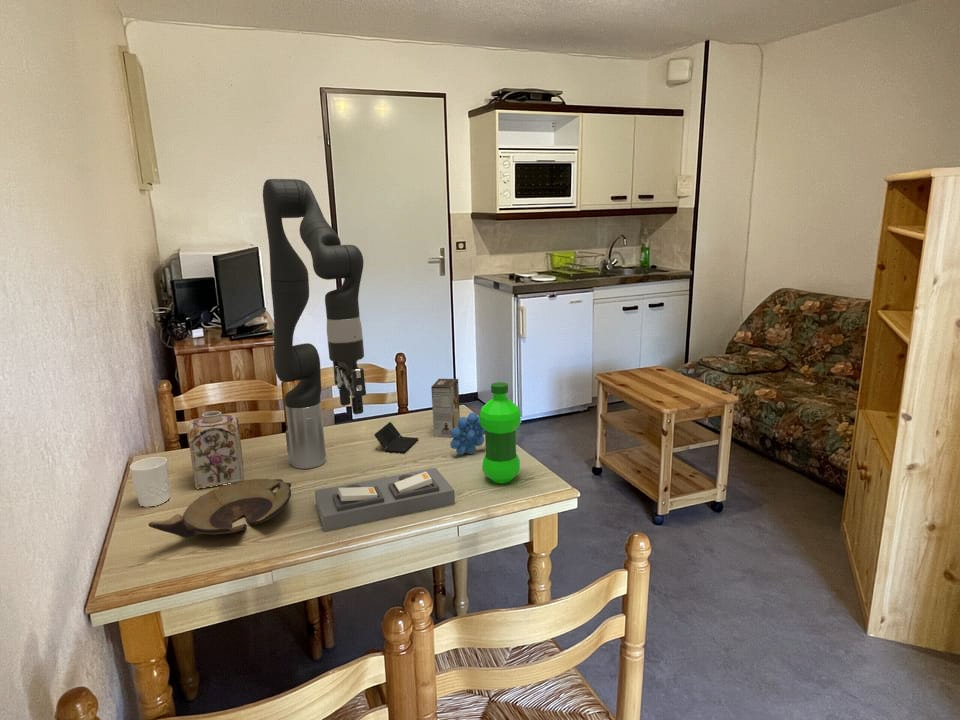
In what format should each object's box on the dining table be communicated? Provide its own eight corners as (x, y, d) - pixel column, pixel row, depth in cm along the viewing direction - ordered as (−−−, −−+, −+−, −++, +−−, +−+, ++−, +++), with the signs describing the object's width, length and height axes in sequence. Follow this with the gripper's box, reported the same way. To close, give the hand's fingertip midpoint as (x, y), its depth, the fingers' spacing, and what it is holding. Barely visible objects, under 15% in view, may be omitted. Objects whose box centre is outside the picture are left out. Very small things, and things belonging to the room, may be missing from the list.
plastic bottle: (473, 481, 154) (470, 386, 148) (498, 467, 162) (496, 376, 156) (504, 491, 148) (502, 393, 142) (529, 476, 155) (528, 382, 149)
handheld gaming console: (411, 448, 172) (389, 421, 172) (392, 463, 173) (371, 436, 173) (420, 439, 183) (400, 413, 183) (402, 453, 184) (382, 427, 184)
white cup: (136, 512, 143) (129, 472, 140) (137, 498, 149) (130, 460, 147) (173, 504, 146) (167, 465, 144) (172, 491, 153) (166, 454, 151)
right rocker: (400, 495, 139) (398, 490, 138) (395, 487, 143) (394, 482, 142) (432, 483, 141) (431, 478, 141) (427, 475, 145) (425, 471, 145)
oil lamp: (307, 526, 134) (304, 494, 132) (154, 568, 120) (148, 533, 118) (285, 488, 153) (281, 460, 151) (150, 520, 139) (145, 489, 137)
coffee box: (441, 426, 194) (438, 377, 190) (460, 427, 192) (458, 378, 188) (433, 436, 185) (430, 386, 181) (453, 437, 184) (451, 386, 180)
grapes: (481, 444, 177) (480, 405, 174) (492, 452, 172) (491, 412, 169) (444, 452, 172) (443, 412, 169) (454, 460, 166) (453, 419, 164)
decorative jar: (195, 491, 153) (184, 423, 148) (197, 473, 163) (188, 409, 159) (245, 482, 157) (237, 416, 153) (244, 465, 167) (236, 403, 163)
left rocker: (341, 501, 134) (341, 495, 134) (338, 492, 138) (338, 487, 138) (377, 499, 137) (377, 494, 137) (372, 491, 141) (373, 486, 141)
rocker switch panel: (324, 531, 131) (322, 512, 130) (315, 504, 144) (314, 486, 143) (454, 503, 142) (454, 486, 141) (436, 480, 155) (435, 464, 154)
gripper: (373, 340, 129) (379, 413, 132) (351, 331, 141) (357, 399, 144) (338, 344, 125) (345, 420, 128) (318, 336, 137) (325, 405, 140)
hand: (351, 409), depth 136 cm, fingers open, 8 cm apart
